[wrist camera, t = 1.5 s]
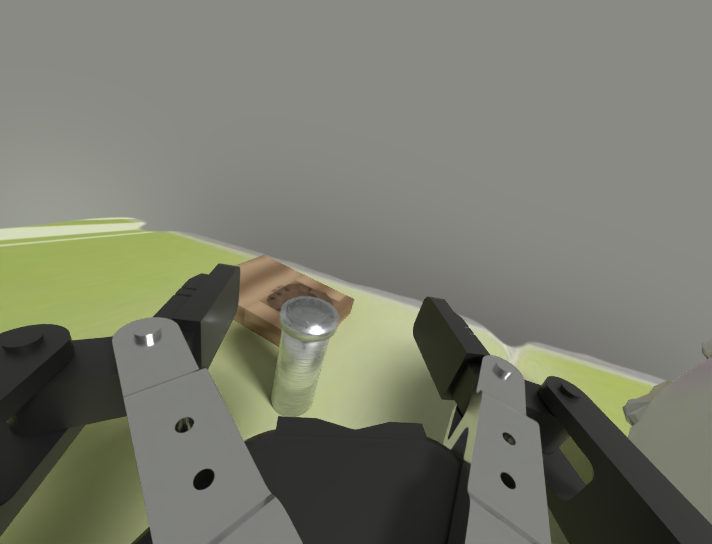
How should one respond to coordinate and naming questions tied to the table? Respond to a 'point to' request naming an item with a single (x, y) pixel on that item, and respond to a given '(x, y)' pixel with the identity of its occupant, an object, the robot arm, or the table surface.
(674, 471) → the sculpture
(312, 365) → the silver metal peg
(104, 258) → the table surface
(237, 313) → the block
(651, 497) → the robot arm
